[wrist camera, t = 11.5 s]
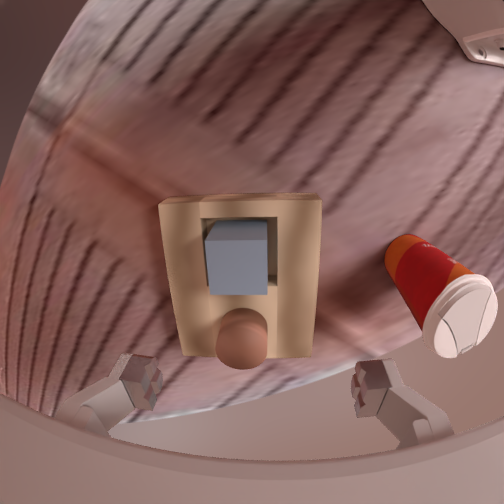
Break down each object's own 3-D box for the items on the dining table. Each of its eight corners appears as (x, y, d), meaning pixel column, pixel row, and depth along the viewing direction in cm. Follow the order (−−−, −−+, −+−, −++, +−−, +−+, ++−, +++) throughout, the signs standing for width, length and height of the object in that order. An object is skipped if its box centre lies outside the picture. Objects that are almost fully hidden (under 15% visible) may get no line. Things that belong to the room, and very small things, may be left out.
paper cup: (436, 271, 31) (498, 337, 18) (383, 295, 33) (430, 376, 20) (426, 214, 29) (503, 264, 16) (368, 238, 30) (425, 307, 17)
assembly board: (316, 193, 29) (331, 211, 22) (307, 338, 36) (314, 381, 29) (169, 196, 30) (141, 215, 23) (189, 337, 37) (174, 378, 30)
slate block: (266, 219, 29) (266, 239, 24) (267, 265, 31) (267, 294, 26) (216, 220, 30) (204, 240, 24) (220, 266, 31) (210, 294, 26)
